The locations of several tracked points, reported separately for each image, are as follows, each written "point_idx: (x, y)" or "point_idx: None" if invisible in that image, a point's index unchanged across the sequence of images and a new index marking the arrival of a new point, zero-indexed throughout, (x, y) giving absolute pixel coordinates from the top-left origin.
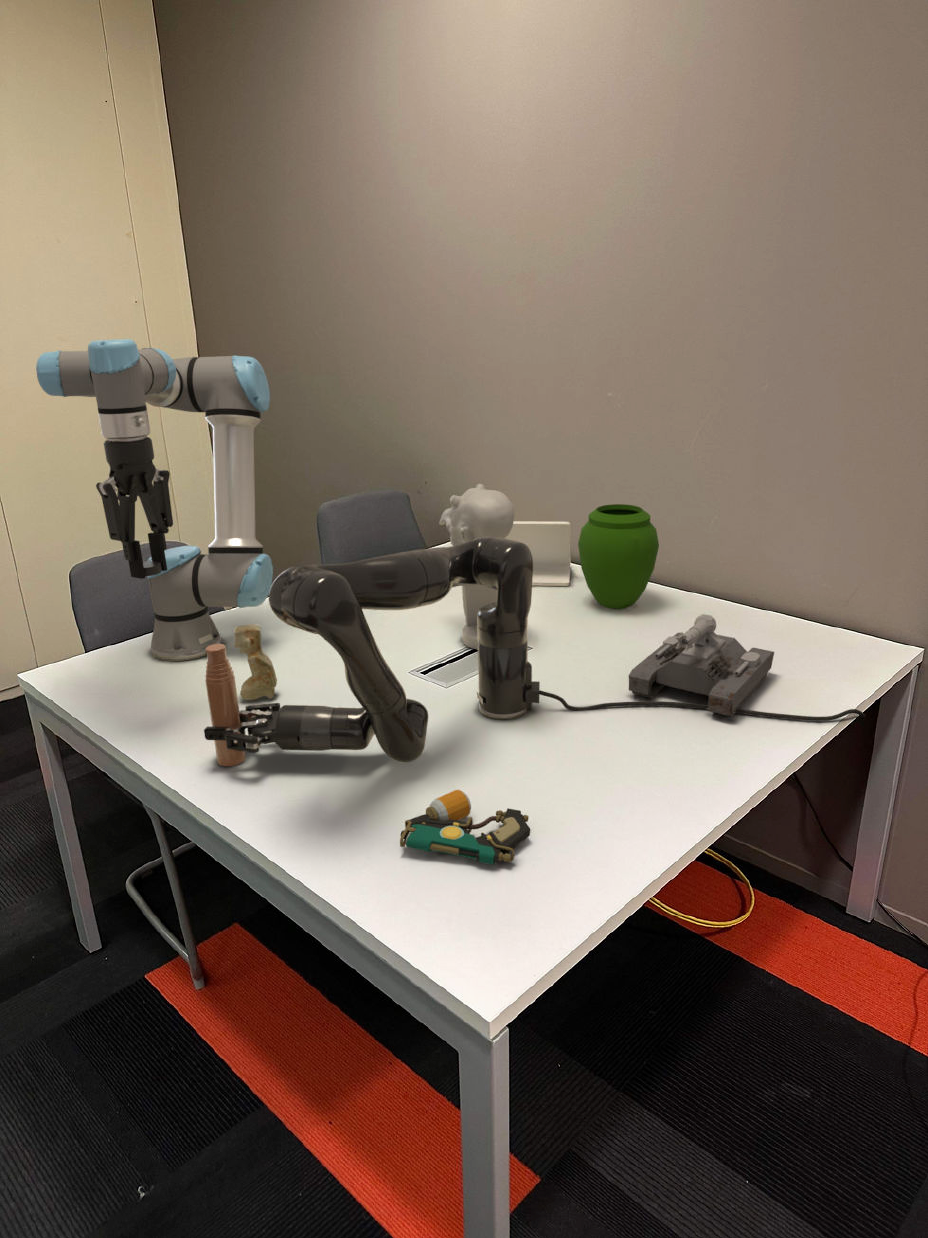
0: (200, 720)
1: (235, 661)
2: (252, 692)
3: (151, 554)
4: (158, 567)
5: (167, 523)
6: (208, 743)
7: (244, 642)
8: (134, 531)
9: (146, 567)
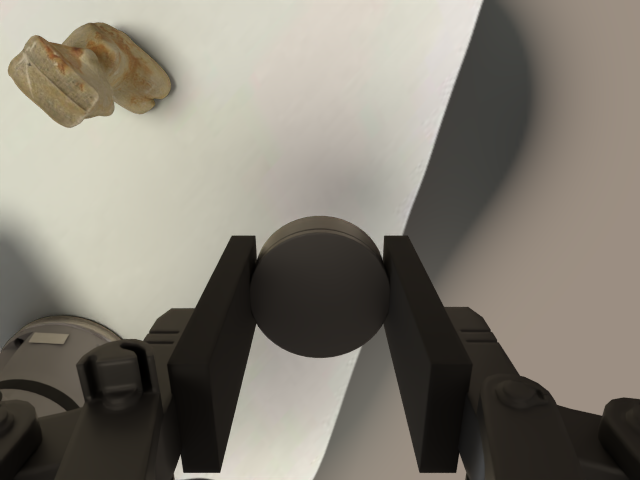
0: (276, 108)
1: (51, 249)
2: (153, 61)
3: (247, 355)
4: (304, 229)
5: (25, 434)
6: (340, 12)
7: (97, 67)
8: (498, 446)
9: (371, 257)
